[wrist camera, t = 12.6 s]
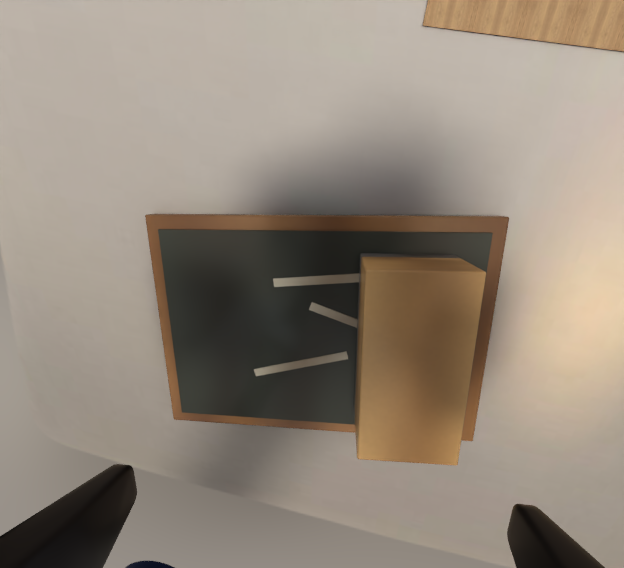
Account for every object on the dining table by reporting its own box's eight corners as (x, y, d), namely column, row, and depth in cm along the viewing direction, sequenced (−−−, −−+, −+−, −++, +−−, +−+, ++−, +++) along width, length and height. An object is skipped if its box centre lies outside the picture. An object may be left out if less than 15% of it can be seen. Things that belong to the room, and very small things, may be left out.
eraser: (353, 409, 20) (357, 459, 16) (360, 252, 18) (365, 269, 14) (435, 413, 20) (458, 466, 16) (454, 254, 17) (487, 271, 13)
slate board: (179, 412, 23) (171, 422, 22) (152, 214, 19) (141, 215, 18) (468, 432, 21) (474, 444, 20) (502, 216, 17) (512, 217, 16)
